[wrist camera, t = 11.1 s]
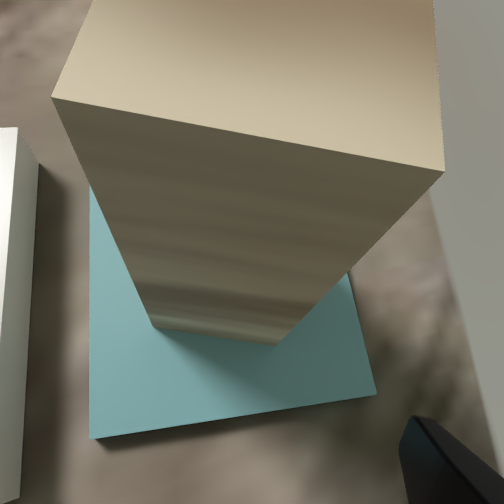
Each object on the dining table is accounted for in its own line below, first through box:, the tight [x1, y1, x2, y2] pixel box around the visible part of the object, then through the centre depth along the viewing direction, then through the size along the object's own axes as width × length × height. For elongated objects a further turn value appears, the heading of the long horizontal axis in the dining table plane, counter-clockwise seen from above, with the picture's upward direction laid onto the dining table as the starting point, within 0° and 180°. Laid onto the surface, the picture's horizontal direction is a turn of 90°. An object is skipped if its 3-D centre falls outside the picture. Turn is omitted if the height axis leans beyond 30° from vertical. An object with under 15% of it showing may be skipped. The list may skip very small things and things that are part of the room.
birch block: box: [51, 0, 445, 346], centre depth 12 cm, size 5×5×12 cm
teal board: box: [89, 186, 377, 440], centre depth 18 cm, size 11×11×1 cm
